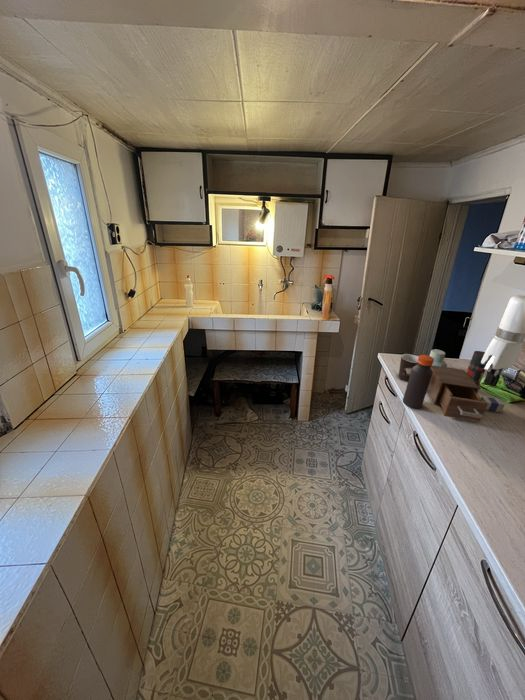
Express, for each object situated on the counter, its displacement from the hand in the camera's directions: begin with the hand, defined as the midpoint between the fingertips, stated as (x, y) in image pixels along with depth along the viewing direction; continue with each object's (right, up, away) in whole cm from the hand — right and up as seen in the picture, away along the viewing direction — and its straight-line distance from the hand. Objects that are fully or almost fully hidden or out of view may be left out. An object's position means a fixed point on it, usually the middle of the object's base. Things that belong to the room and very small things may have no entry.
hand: (489, 384), depth 97 cm
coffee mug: (-13, -2, +29) cm, 32 cm away
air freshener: (+3, +2, +38) cm, 38 cm away
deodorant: (+13, -4, +27) cm, 30 cm away
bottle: (-21, -9, +12) cm, 26 cm away
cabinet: (-4, -7, +18) cm, 19 cm away
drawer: (-6, -11, +7) cm, 14 cm away
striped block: (+9, -10, +11) cm, 18 cm away
